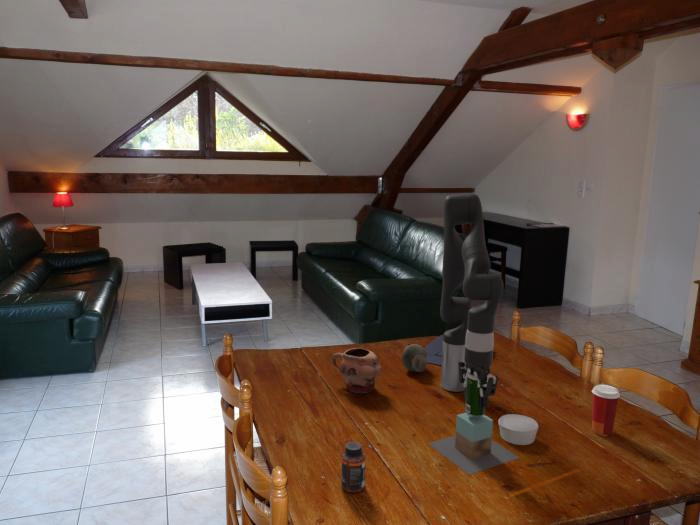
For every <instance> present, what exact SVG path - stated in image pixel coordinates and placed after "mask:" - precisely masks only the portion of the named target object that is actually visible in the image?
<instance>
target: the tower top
mask: <svg viewBox="0 0 700 525" xmlns="http://www.w3.org/2000/svg"><path fill="white" fill-rule="evenodd" d="M455 421H456V423H455V424H456V425H455V426H456V427H455V433H456V432H458V433H459V434H460V435H462V436H463V437H465V438H466V439H468V440H469V441H471V442H472V443H473V442H476V441H479V440H483V439H486V438H489V437H492V438H493V427H494V426H493V425H494V419H492V418H490V417H489V416H487V415H485V414H484V415H483V416H482V417H479V418H474V417H470V416H468V415H467V414H466V412H464V413H459V414H456V420H455Z"/></svg>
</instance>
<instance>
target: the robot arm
mask: <svg viewBox="0 0 700 525" xmlns="http://www.w3.org/2000/svg"><path fill="white" fill-rule="evenodd" d="M459 225H472V227H471V229H470V231H469V232H468V234H467V236H466V237H465V239H464V241H463V240H462V238H461V237H460V235H459V234H458V232H457V230H456V228H455V226H459ZM443 232H444V234H443V236H444V238H443V253H442V288H441V289H442V290H441V299H440V306H439V307H440V308H439V310H440V311H439V313H440V314H439V315H440V318H441V321H442V322H443V323H448V324H459V326H457V327H455V328H452V329H448V330H446V331H445V332H443V334H442V335H443V352H442V365H441V375H440V387H441V388H442V389H443V390H445V391H449V392H455V393H457V392H464V393H463V395H464V396H463V397H464V400H465V401H466V387H467V375H468V373H473V374H474V376H476V378H477V380H478V384H477V387H478V388H479V391H480V401H479V408H480V409H485V410H486V409H487V408H488V406H489V397H493V396H495V395H496V391H497V386H498V382H499V376H498V375H493V374H491V370H490V369H491V368H490V367H491V366H492V364H493V358H494V342H495V336H494V334H495V333H494V328H495V318H496V317H495V316H496V313H497V310H498V306H499V304H500V301H501V298H502V295H503V293H504V288H505V287H504V280H503V279H502V277H501V276H500V275H499V274H496V273H488V272H489V271H490V270H491V267H492V266H491V265H492V264H491V260H490V256H489V252H488V249H487V248H488V247H487V245H486V237H485V235H486V234H485V224H484V214H483V206H482V202H481V198H480V197H479V196H478V195H477V194H476V193H461V194H460V193H459V194H450V195H447V196H445V197H444V202H443ZM461 286H462V293H463V297H461V296H460V297H459V296H453V295H454V293H455V292H456V291H457V290H458V288H460V287H461ZM464 296H465V297H464ZM472 301H485V302H484V303H483V304H481V305H478V306H475V307H474V306H473V302H472ZM479 376H480V377H479ZM480 380H481V381H486V384H483V385H481V382H480ZM484 387H485V392H484V390H483V388H484Z"/></svg>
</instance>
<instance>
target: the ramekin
mask: <svg viewBox="0 0 700 525" xmlns="http://www.w3.org/2000/svg"><path fill="white" fill-rule="evenodd" d="M537 422H538V421H536V420H535V419H533V418H532V417H529V416H527V415H522V414H515V413H512V414H504V415H501V417H500V418H499V419H498V422H497V424H498V427H499V434H500V437H501V439H503V440H504V441H505V442H507V443H510V444H512V445H517V446H527V445H531V444H532V443H534V441H535V440H536V436H537V432H538V430H539V423H537Z"/></svg>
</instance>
